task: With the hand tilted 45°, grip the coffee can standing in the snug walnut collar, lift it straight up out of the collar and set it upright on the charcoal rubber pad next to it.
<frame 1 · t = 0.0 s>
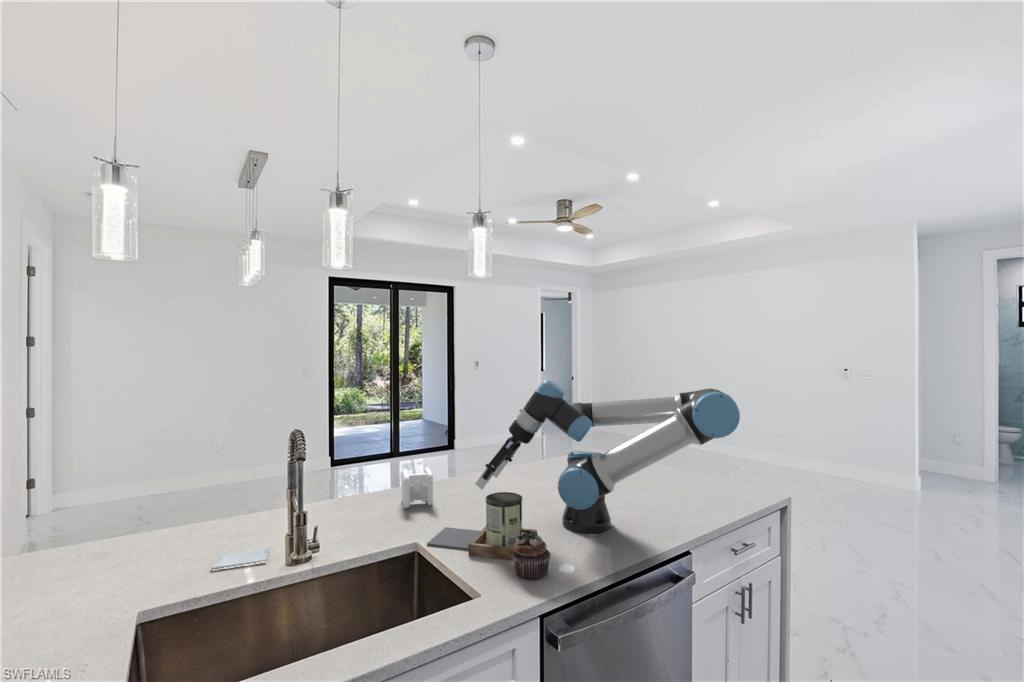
hand: (486, 480, 149), 15 cm above the worktop, tool tilted 35°, fingers open, 13 cm apart
cable organizer: (416, 504, 175), on the worktop
cupcake: (531, 573, 120), on the worktop
rubber pad: (457, 539, 142), on the worktop
coffee can: (504, 548, 136), resting in walnut collar
walnut collar: (504, 547, 136), on the worktop
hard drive: (241, 564, 127), on the worktop
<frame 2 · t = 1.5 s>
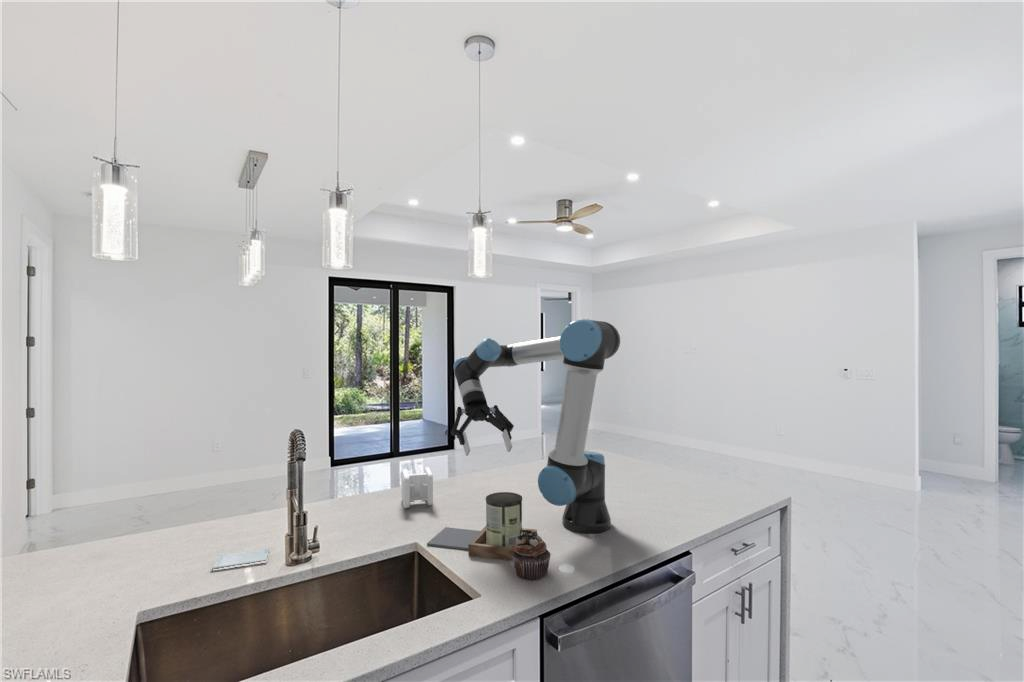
hand: (489, 451, 146), 25 cm above the worktop, tool tilted 45°, fingers open, 13 cm apart
nothing on the worktop moved.
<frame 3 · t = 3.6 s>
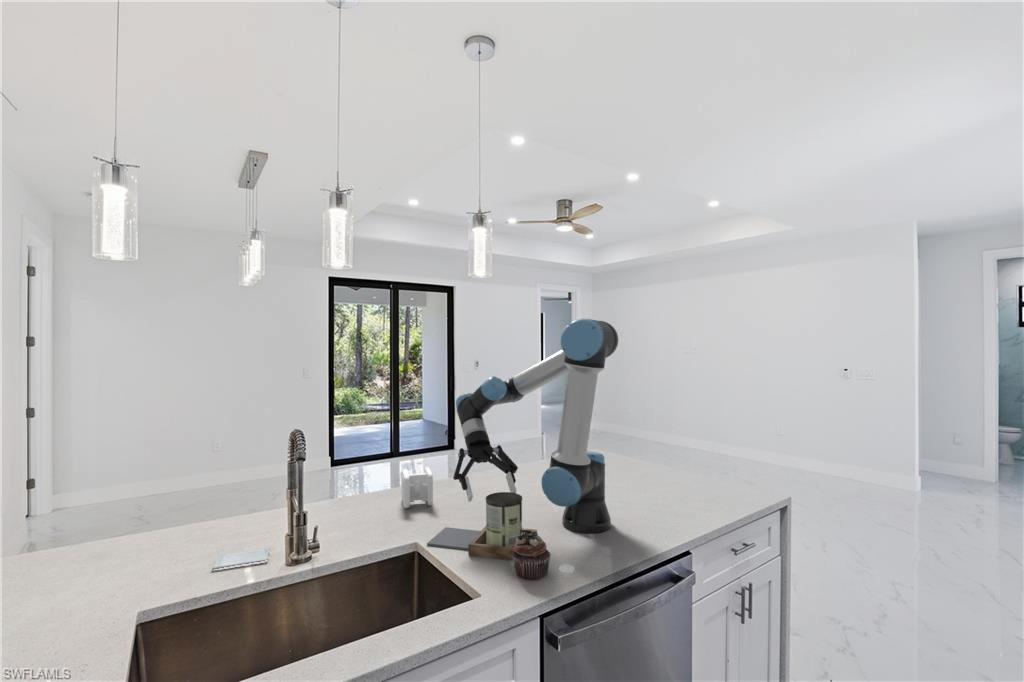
hand: (492, 496, 141), 13 cm above the worktop, tool tilted 45°, fingers open, 13 cm apart
nothing on the worktop moved.
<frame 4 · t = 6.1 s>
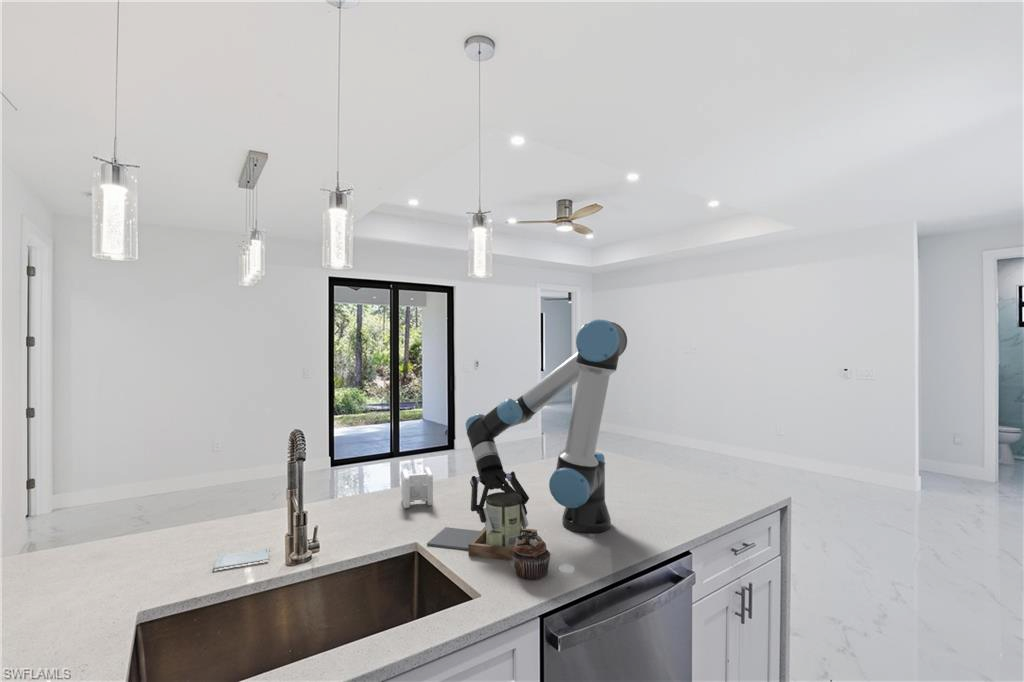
hand: (508, 529, 133), 6 cm above the worktop, tool tilted 45°, fingers closed on coffee can, 10 cm apart
coffee can: (504, 548, 136), resting in walnut collar, touching gripper
everything else where it was.
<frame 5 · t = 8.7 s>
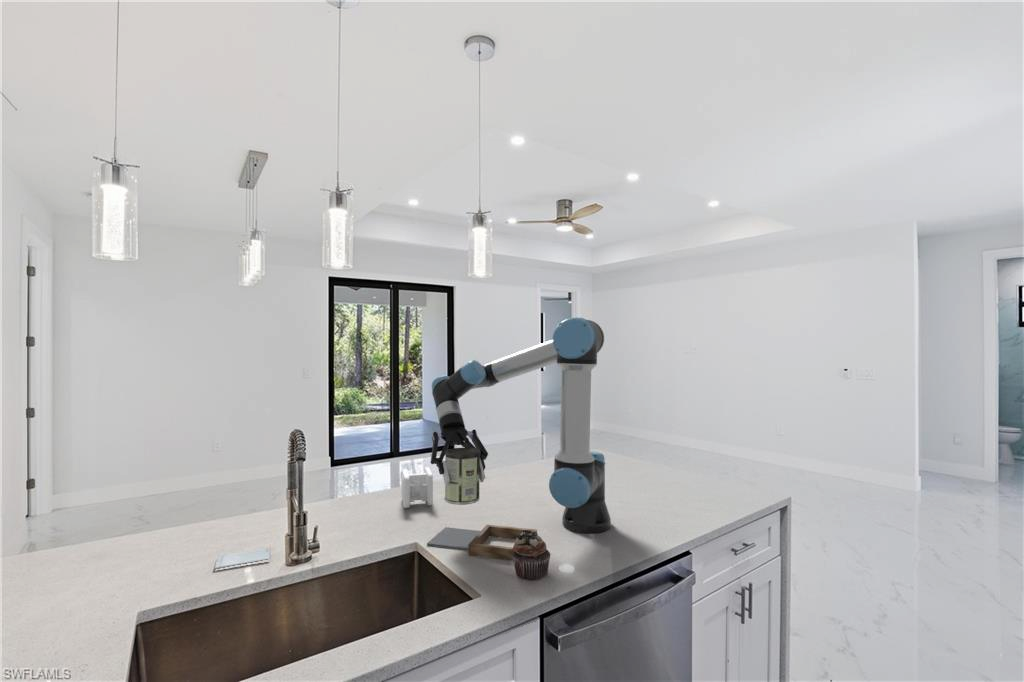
hand: (465, 481, 139), 18 cm above the worktop, tool tilted 45°, fingers closed on coffee can, 10 cm apart
coffee can: (461, 500, 141), point 12 cm above the worktop, touching gripper
everything else where it was.
when the fingers open (8 cm above the worktop, at t = 11.6 s): coffee can drops 1 cm, resting on rubber pad.
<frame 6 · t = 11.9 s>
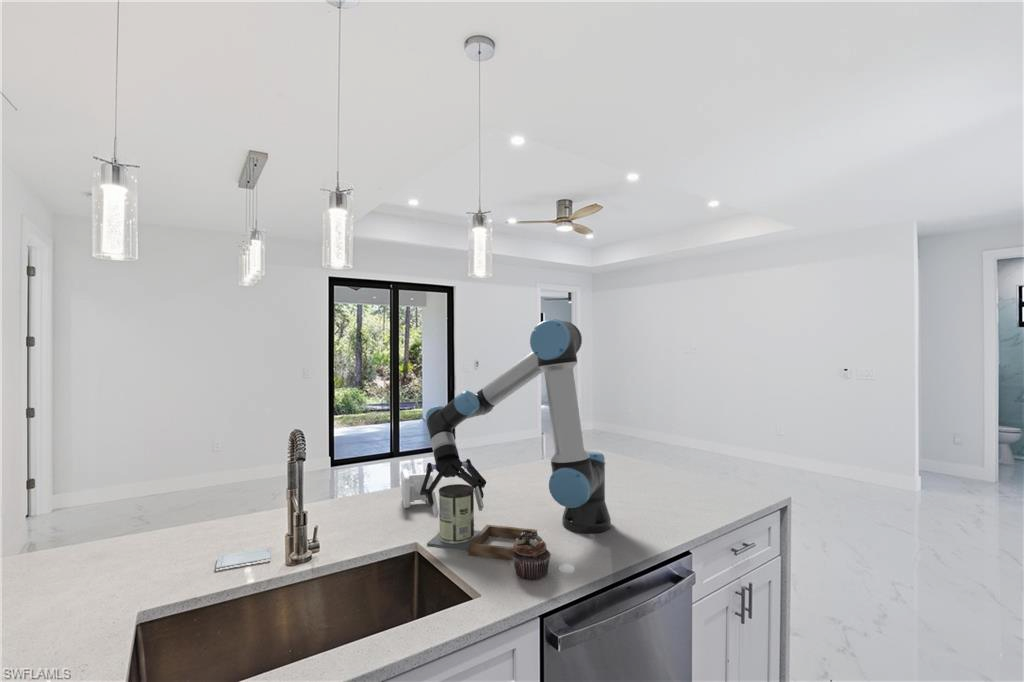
hand: (459, 511, 140), 9 cm above the worktop, tool tilted 45°, fingers open, 13 cm apart
coffee can: (456, 537, 142), resting on rubber pad
everything else where it was.
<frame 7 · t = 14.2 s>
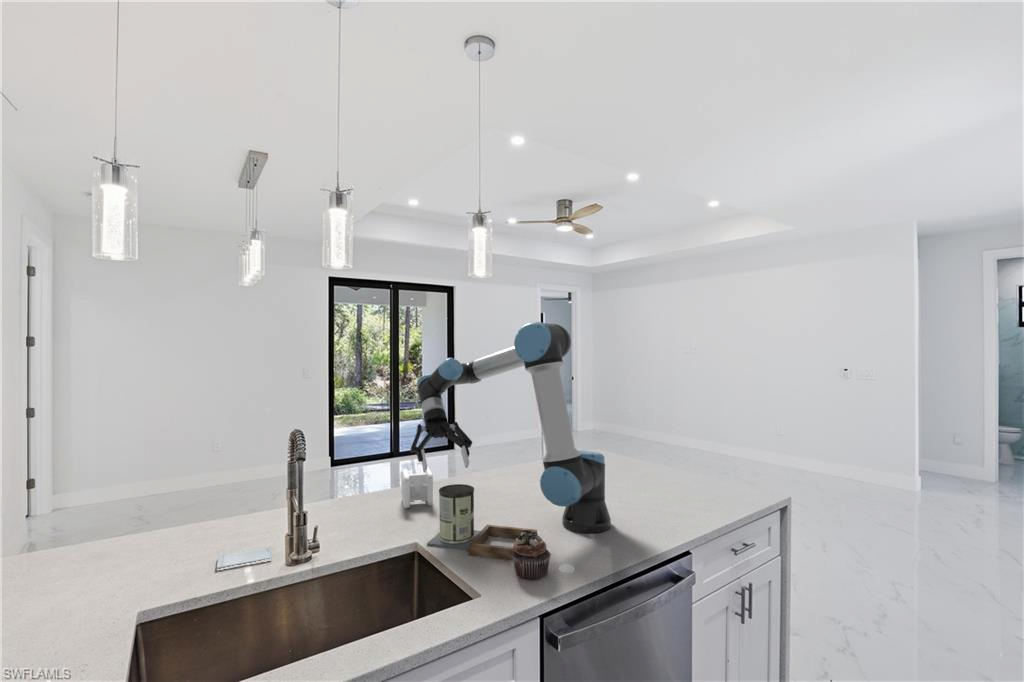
hand: (446, 467, 152), 19 cm above the worktop, tool tilted 45°, fingers open, 13 cm apart
nothing on the worktop moved.
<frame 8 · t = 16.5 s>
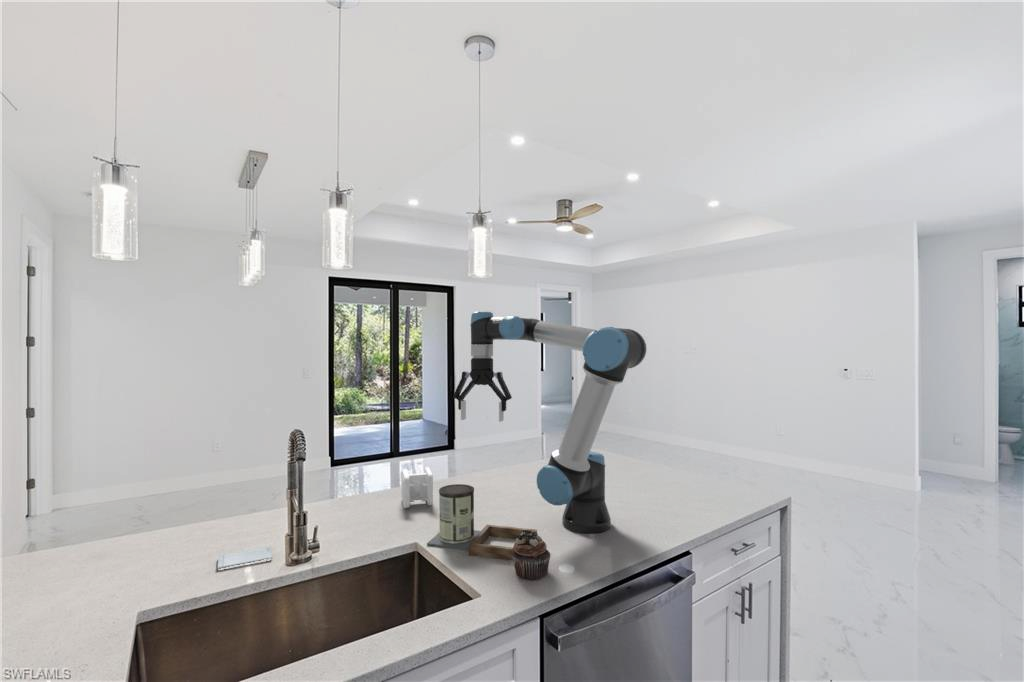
hand: (482, 420, 163), 32 cm above the worktop, tool pointing down, fingers open, 13 cm apart
nothing on the worktop moved.
at the end: coffee can inside the target area on the rubber pad (0.1 cm from its centre), point 0.4 cm above the rubber pad's base; coffee can tilted 0°; the gripper is holding nothing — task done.
